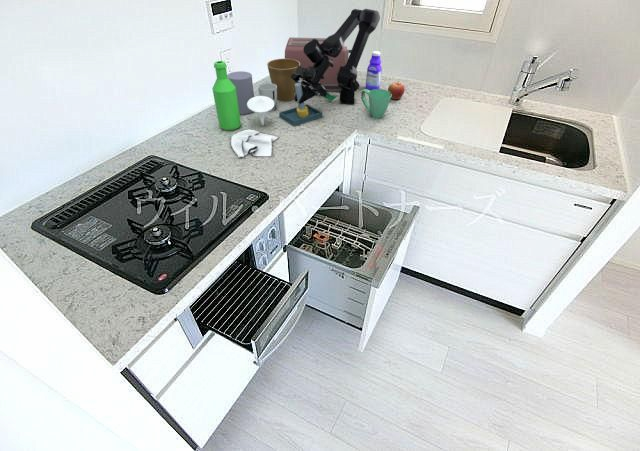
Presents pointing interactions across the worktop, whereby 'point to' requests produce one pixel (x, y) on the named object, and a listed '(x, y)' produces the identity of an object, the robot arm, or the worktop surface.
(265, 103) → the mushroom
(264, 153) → the cloth
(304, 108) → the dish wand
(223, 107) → the bottle
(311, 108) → the tray
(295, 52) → the toaster
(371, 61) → the bottle
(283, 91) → the plant pot
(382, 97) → the mug
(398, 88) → the apple
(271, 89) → the cup
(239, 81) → the container
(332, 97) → the green spatula
